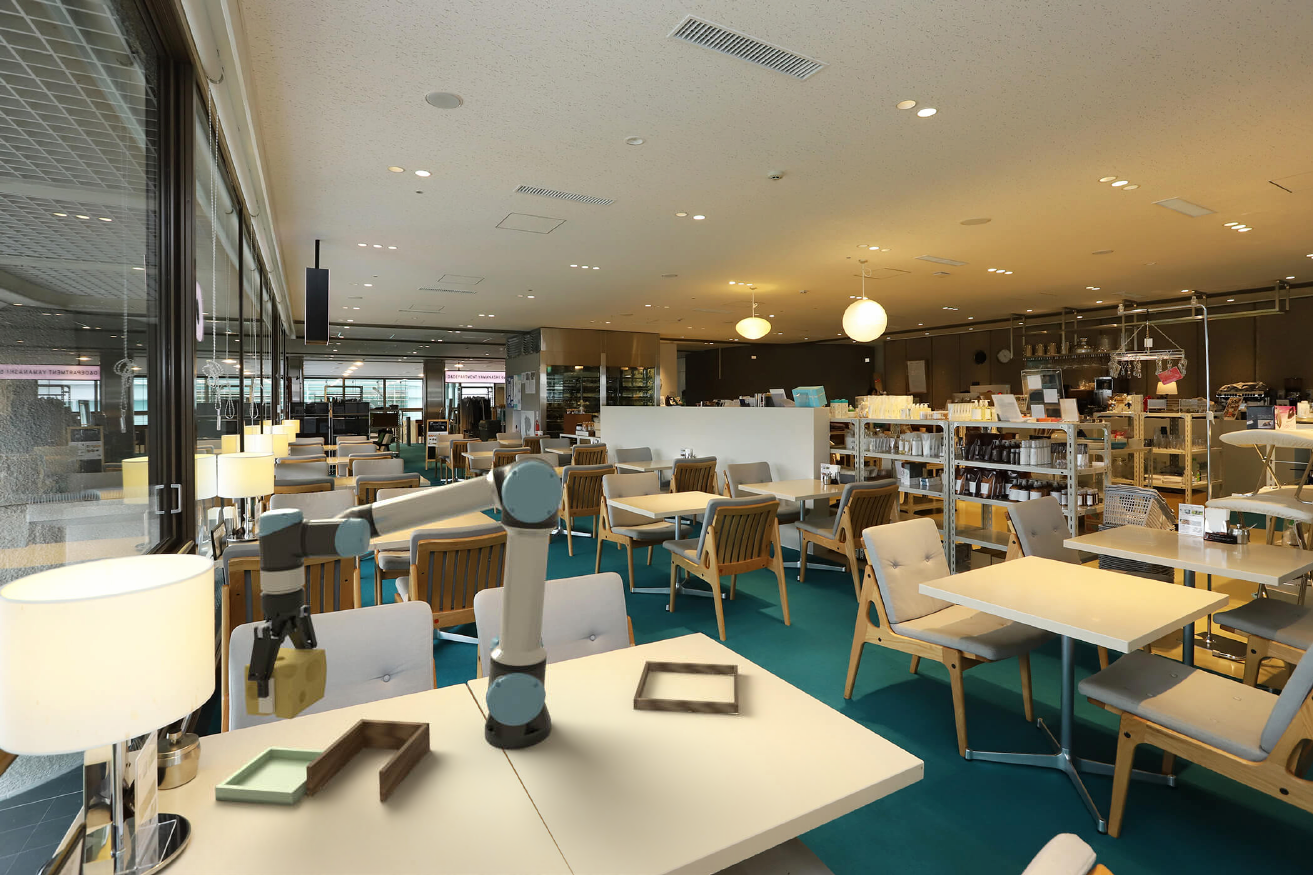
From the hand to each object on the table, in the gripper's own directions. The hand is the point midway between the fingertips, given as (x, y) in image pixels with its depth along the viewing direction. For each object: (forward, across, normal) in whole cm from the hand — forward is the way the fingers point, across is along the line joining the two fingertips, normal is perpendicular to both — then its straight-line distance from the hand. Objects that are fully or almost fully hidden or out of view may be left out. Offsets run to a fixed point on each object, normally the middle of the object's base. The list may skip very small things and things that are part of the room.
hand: (285, 698), depth 130 cm
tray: (+18, -2, -3) cm, 19 cm away
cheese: (+2, 0, 0) cm, 2 cm away
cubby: (+18, -7, +14) cm, 24 cm away
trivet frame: (+17, -50, +78) cm, 94 cm away
